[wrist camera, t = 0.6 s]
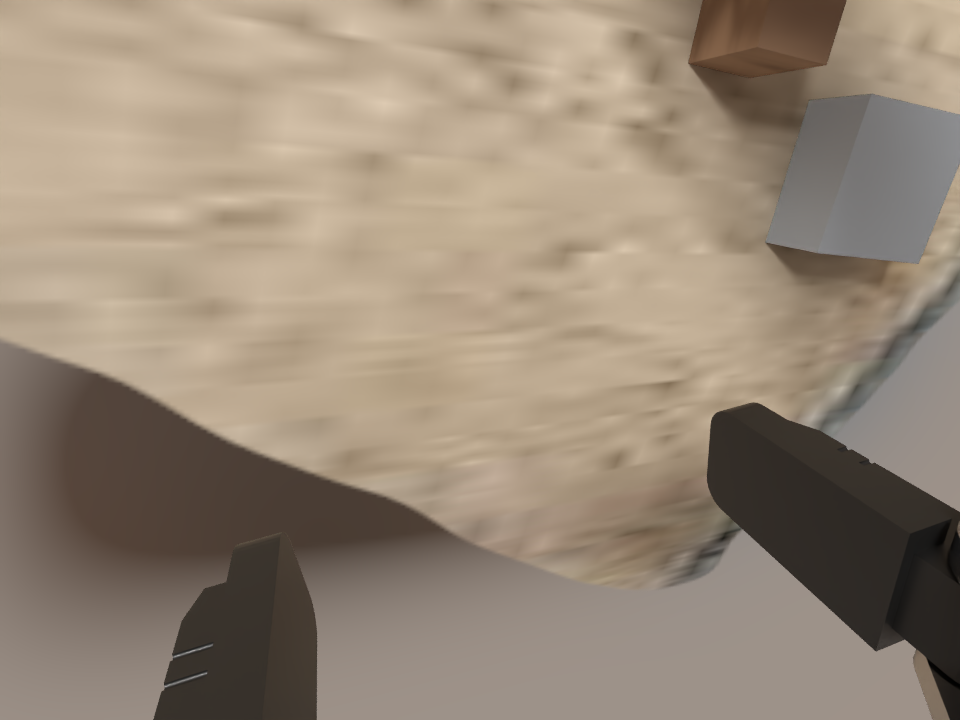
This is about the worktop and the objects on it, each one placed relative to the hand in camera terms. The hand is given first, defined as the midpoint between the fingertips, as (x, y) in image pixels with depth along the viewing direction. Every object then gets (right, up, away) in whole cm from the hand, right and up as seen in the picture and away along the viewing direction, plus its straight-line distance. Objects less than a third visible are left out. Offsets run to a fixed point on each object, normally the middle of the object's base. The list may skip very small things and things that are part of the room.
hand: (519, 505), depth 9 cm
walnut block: (+15, +24, +24) cm, 37 cm away
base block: (+27, +16, +31) cm, 44 cm away
